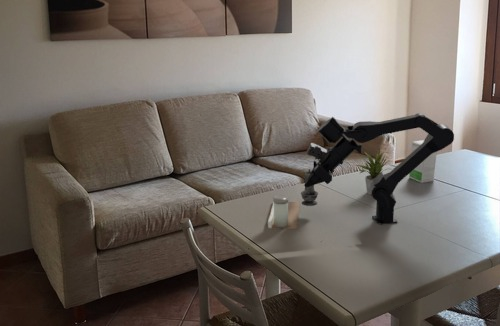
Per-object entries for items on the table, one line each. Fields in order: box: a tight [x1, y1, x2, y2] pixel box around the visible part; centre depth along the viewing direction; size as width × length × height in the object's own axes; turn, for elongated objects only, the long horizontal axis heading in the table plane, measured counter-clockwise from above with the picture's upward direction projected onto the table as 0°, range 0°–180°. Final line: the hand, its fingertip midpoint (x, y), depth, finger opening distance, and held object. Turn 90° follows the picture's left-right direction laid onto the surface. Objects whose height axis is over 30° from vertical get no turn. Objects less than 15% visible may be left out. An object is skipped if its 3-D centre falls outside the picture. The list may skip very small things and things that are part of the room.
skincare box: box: [408, 139, 438, 184], centre depth 221 cm, size 8×7×16 cm
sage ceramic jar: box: [272, 195, 289, 227], centre depth 175 cm, size 5×5×9 cm
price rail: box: [267, 195, 278, 229], centre depth 186 cm, size 1×25×3 cm, turn 172°
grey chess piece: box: [300, 169, 319, 207], centre depth 182 cm, size 6×6×12 cm
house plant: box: [355, 151, 393, 196], centre depth 207 cm, size 14×14×16 cm
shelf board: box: [271, 201, 301, 230], centre depth 186 cm, size 9×25×1 cm, turn 172°
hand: (305, 184), depth 182 cm, fingers closed on grey chess piece, 4 cm apart
